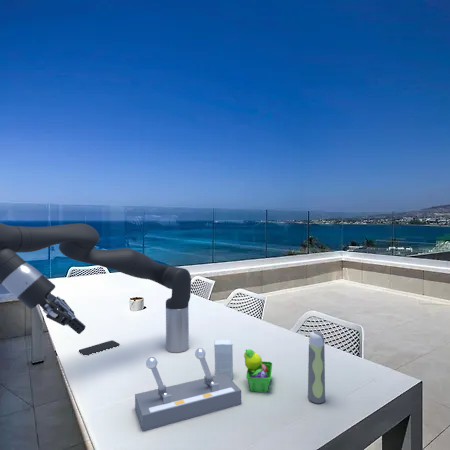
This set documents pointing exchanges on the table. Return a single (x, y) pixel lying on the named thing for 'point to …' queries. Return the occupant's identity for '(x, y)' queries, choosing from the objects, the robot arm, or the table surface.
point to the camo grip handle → (316, 368)
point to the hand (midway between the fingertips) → (82, 330)
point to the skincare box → (223, 358)
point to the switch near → (156, 374)
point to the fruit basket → (257, 371)
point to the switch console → (185, 401)
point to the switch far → (204, 365)
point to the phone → (99, 347)
